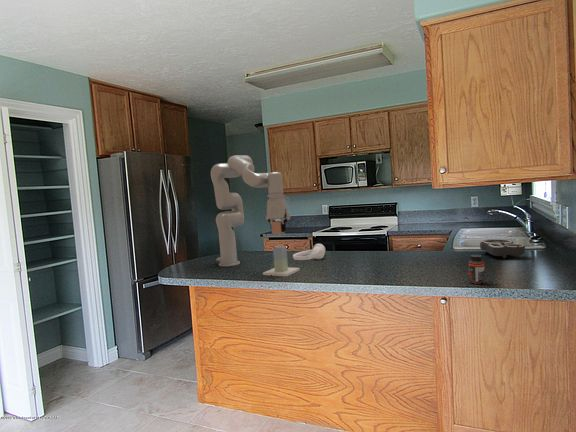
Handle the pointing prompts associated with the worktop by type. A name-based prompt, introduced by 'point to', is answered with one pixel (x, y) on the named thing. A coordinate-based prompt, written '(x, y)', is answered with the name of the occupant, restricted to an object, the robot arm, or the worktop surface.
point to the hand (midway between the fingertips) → (278, 231)
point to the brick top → (276, 227)
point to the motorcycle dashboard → (502, 247)
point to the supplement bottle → (476, 270)
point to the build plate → (277, 273)
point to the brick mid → (279, 253)
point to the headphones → (311, 253)
